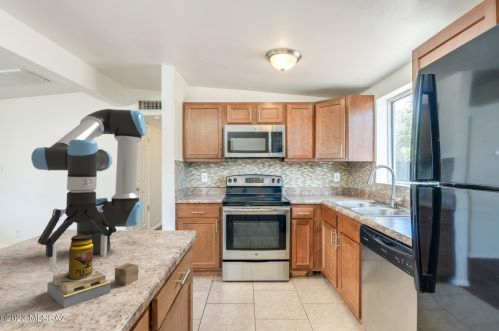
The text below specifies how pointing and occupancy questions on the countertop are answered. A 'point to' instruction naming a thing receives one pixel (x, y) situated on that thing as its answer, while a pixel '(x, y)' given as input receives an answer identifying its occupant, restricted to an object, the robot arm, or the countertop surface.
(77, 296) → the dock
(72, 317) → the countertop surface
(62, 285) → the pallet
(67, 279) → the condiment
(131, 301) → the countertop surface
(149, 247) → the countertop surface
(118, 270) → the brown cube
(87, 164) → the robot arm
